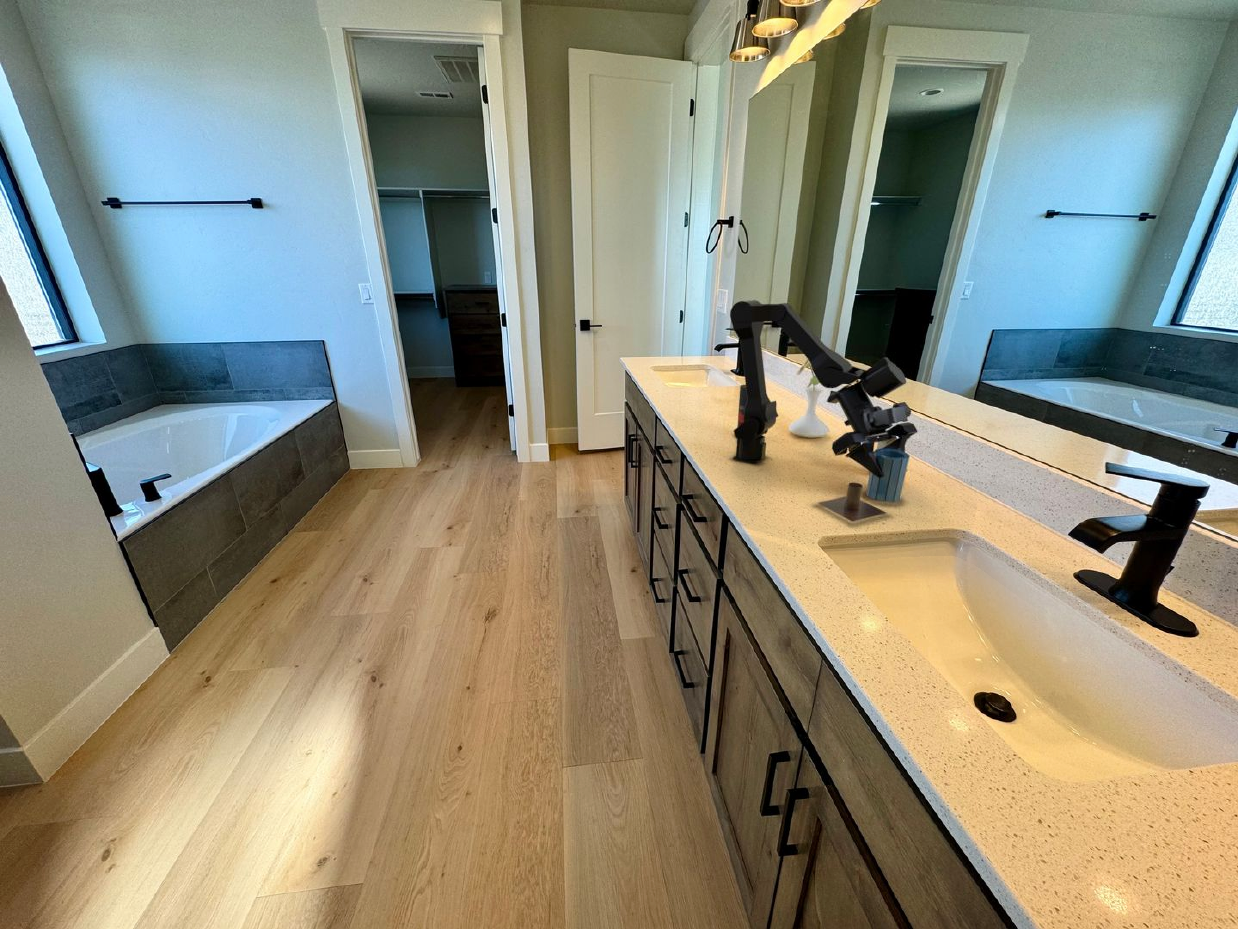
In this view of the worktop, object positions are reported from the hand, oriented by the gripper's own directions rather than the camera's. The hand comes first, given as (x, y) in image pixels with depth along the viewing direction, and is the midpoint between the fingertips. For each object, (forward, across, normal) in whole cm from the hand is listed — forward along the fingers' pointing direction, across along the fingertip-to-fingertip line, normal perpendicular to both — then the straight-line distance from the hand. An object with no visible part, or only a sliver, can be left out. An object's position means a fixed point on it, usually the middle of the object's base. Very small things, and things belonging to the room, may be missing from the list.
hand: (893, 474), depth 101 cm
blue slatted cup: (+3, 0, +5) cm, 6 cm away
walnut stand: (+4, -11, +4) cm, 12 cm away
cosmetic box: (-2, +10, +11) cm, 15 cm away
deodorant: (-30, 0, +39) cm, 49 cm away
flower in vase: (-25, +17, +34) cm, 46 cm away
